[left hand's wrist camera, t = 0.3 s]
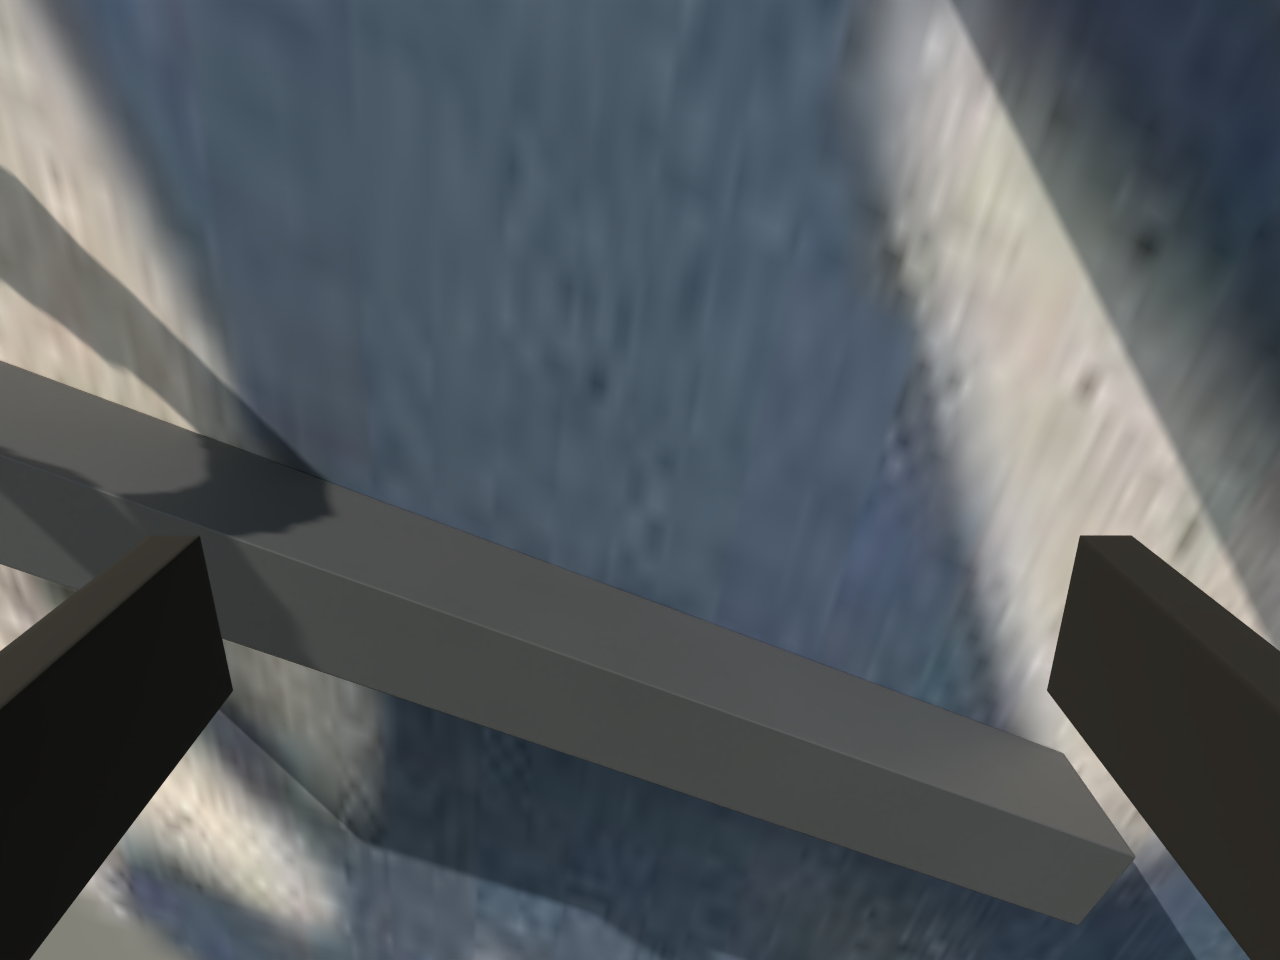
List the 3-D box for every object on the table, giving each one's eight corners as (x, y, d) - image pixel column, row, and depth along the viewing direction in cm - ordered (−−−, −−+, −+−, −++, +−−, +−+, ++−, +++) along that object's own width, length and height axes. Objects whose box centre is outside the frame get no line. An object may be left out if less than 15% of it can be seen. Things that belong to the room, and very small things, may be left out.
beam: (-92, 424, 40) (-245, 482, 33) (-82, 329, 39) (-242, 369, 32) (1016, 816, 49) (1078, 926, 42) (1063, 752, 47) (1136, 857, 40)
